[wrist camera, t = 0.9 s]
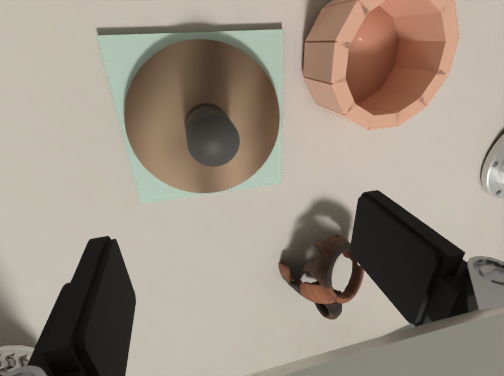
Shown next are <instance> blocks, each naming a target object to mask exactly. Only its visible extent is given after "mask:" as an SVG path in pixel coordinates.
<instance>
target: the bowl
mask: <svg viewBox="0 0 504 376" xmlns="http://www.w3.org/2000/svg"><path fill="white" fill-rule="evenodd" d="M457 36H459V28H458V21H457V14H456V7H455V0H332V1H331V2H329V3H328V4H327V5H325V6H324V7H323V8H322V9H321V11H320V13H319V15H318V17H317V19H316V21H315V23H314V25H313V27H312V29H311V31H310V33H309V35H308V37H307V38H306V40H305V41H306V42H308V43H305V49H304V70H303V76H305V77H304V80H305V82H306V84H307V86H308V88H309V90H310V93H311V95H312V97H313V99H314V101H315V103H316V104H318V105H319V106H321V107H323V108H325V109H326V110H328V111H330V112H331V113H333V114H335V115H337V116H339V117H341V118H343V119H346V120H348V121H350V122H352V123H355V124H357V125H359V126H361V127H364V128H366V129H369V130H371V129H380V128H388V127H397V126H399V125H401V124H402V123H404V122H405V121H407V120H408V119H409V118H411V117H412V116H414V115H415V114H417V113H418V112H420V111H421V110H423V109H424V108H426V107H425V106H427V105H428V104H429V103H430V101H431V100H432V98H433V97H434V95H435V94H436V93H437V91H438V90H439V88H440V87H441V85H442V84H443V83H444V81H445V80H446V78H447V77H448V75H446V74H449V72H450V69H451V65H452V61H453V58H454V54H455V51H456V47H457V43H458V40H459V37H457Z"/></svg>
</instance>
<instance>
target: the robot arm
mask: <svg viewBox="0 0 504 376" xmlns="http://www.w3.org/2000/svg"><path fill="white" fill-rule="evenodd" d="M481 181H482V186H483V188H484V190H485V191H486V192H487V193H488V194H490V195H492V196H494V197H496V198H500V199H504V134H503V135H502V136H501V137H500V138H499V139H498V140H497V142H496V143H495V144H494V146H493V147H492V149H491V150H490V152H489V154H488V156H487V158H486V160H485V162H484V165H483V169H482V175H481ZM350 251H351V254H352V256H353V257H354V258H355V259H356V261H357V262H358V263H359V264H360V265H361V267H362V268H363V269H364V270H365V271H366V273H367V274H368V275H369V276H370V277H371V279H372V280H373V281H374V282H375V283H376V284H377V286H378V287H379V288H380V289H381V290H382V292H383V293H384V294H385V295H386V296H387V298H388V299H389V300H390V301H391V302H392V303H393V305H394V306H395V307H396V308H397V309H398V311H399V312H400V313H401V314H402V315H403V317H404V318H405V319H406V320H407V321H408V322H409V323H411V324H414V325H415V327H414V328H410V329H407V330H403V331H400V332H396V333H392V334H389V335H385V336H381V337H378V338H374V339H371V340H367V341H364V342H360V343H357V344H354V345H350V346H347V347H343V348H340V349H336V350H333V351H329V352H326V353H322V354H319V355H316V356H312V357H309V358H305V359H302V360H298V361H295V362H291V363H288V364H285V365H281V366H278V367H274V368H271V369H268V370H264V371H261V372H257V373H254V374H251V375H247V376H504V262H502V261H500V260H497V259H494V258H491V257H484V256H475V257H472V258H470V259H469V260H468V262H466V261H464V260H463V256H464V254H465V252H464V251H462V250H461V249H459V248H458V247H457V246H455V245H454V244H452V243H451V242H450V241H448V240H447V239H445V238H444V237H443V236H441V235H440V234H439V233H437V232H436V231H434V230H433V229H432V228H430V227H429V226H427V225H426V224H425V223H423V222H422V221H420V220H419V219H418V218H416V217H415V216H413V215H412V214H411V213H409V212H408V211H407V210H405V209H404V208H402V207H401V206H400V205H398V204H397V203H395V202H394V201H393V200H391V199H390V198H388V197H387V196H386V195H384V194H383V193H381V192H380V191H378V190H375V191H369V192H364V193H363V194H362V195H361V197H359V199H358V203H357V209H356V215H355V222H354V228H353V234H352V240H351V246H350ZM135 305H136V297H135V292H134V290H133V287H132V284H131V281H130V278H129V275H128V272H127V269H126V266H125V263H124V260H123V257H122V254H121V251H120V248H119V246H118V243H117V240H116V239H113V240H111V238H110V237H109V236H105V237H99V238H93V239H90V240H89V241H88V243H87V246H86V248H85V250H84V253H83V255H82V257H81V260H80V262H79V264H78V267H77V269H76V271H75V274H74V276H73V278H72V280H71V283H67V284H65V285H64V286H63V288H62V289H61V292H60V294H59V296H58V298H57V300H56V303H55V305H54V307H53V309H52V311H51V314H50V316H49V318H48V320H47V322H46V325H45V327H44V329H43V331H42V333H41V336H40V338H39V340H38V342H37V344H36V346H35V349H34V351H33V353H32V355H31V357H30V360H29V362H28V364H27V366H24V367H19V368H17V369H14V370H12V371H10V372H8V373H6V374H4V375H3V376H125V373H126V367H127V360H128V353H129V346H130V339H131V332H132V325H133V319H134V312H135Z"/></svg>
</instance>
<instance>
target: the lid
mask: <svg viewBox="0 0 504 376" xmlns="http://www.w3.org/2000/svg"><path fill="white" fill-rule="evenodd" d="M124 123H125V129H126V134H127V137H128V140H129V143H130V145H131V147H132V150H133V152H134V154H135V155H136V157H137V158H138V160H139V161H140V162H141V164H142V165H143V166H144V167H145V168H146V169H147V170H148V171H149V172H150V173H151V174H152V175H153V176H155V177H156V178H157V179H159V180H160V181H162V182H164V183H165V184H167V185H169V186H171V187H174V188H176V189H179V190H183V191H187V192H193V193H215V192H220V191H224V190H227V189H230V188H233V187H235V186H237V185H239V184H241V183H243V182H244V181H246V180H248V179H249V178H250V177H252V176H253V175H254V174H255V173H256V172H257V171H258V170H259V169H260V168H261V167H262V166H263V164H264V163H265V162H266V161H267V159H268V157H269V156H270V154H271V152H272V150H273V148H274V146H275V143H276V140H277V136H278V131H279V124H280V111H279V104H278V99H277V96H276V92H275V89H274V87H273V85H272V83H271V81H270V79H269V77H268V76H267V74H266V73H265V71H264V70H263V69H262V68H261V67H260V65H259V64H258V63H257V62H256V61H255V60H254V59H252V58H251V57H250V56H249V55H247V54H246V53H245V52H243V51H242V50H240V49H238V48H236V47H234V46H232V45H229V44H226V43H223V42H220V41H215V40H209V39H193V40H185V41H182V42H178V43H174V44H172V45H170V46H168V47H165V48H163V49H162V50H160V51H159V52H157V53H155V54H154V55H153V56H152V57H151V58H149V59H148V60H147V61H146V62H145V63H144V64H143V66H142V67H141V68H140V69H139V70H138V72H137V73H136V75H135V77H134V78H133V80H132V82H131V85H130V87H129V89H128V92H127V96H126V100H125V108H124Z"/></svg>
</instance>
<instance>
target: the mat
mask: <svg viewBox="0 0 504 376" xmlns="http://www.w3.org/2000/svg"><path fill="white" fill-rule="evenodd" d="M97 39H98V43H99V47H100V51H101V55H102V58H103V62H104V66H105V70H106V74H107V77H108V81H109V85H110V89H111V93H112V96H113V100H114V104H115V108H116V112H117V115H118V119H119V123H120V127H121V131H122V134H123V138H124V142H125V146H126V150H127V153H128V157H129V161H130V165H131V169H132V172H133V176H134V180H135V184H136V188H137V191H138V195H139V199H140V203H141V204H145V203H151V202H158V201H165V200H172V199H178V198H185V197H192V196H199V195H205V194H212V193H193V192H187V191H183V190H179V189H176V188H174V187H171V186H169V185H167V184H165V183H164V182H162V181H160V180H159V179H157V178H156V177H155V176H153V175H152V174H151V173H150V172H149V171H148V170H147V169H146V168H145V167H144V166H143V165H142V164H141V162H140V161H139V160H138V158H137V157H136V155H135V154H134V152H133V150H132V147H131V145H130V143H129V140H128V137H127V134H126V129H125V123H124V108H125V100H126V96H127V92H128V89H129V87H130V85H131V82H132V80H133V78H134V77H135V75H136V73H137V72H138V70H139V69H140V68H141V67H142V66H143V64H144V63H145V62H146V61H147V60H148V59H149V58H151V57H152V56H153V55H154V54H155V53H157V52H159V51H160V50H162V49H163V48H165V47H168V46H170V45H172V44H174V43H178V42H182V41H185V40H193V39H209V40H215V41H220V42H223V43H226V44H229V45H232V46H234V47H236V48H238V49H240V50H242V51H243V52H245V53H246V54H247V55H249V56H250V57H251V58H252V59H254V60H255V61H256V62H257V63H258V64H259V65H260V67H261V68H262V69H263V70H264V71H265V73H266V74H267V76H268V77H269V79H270V81H271V83H272V85H273V87H274V89H275V92H276V96H277V99H278V104H279V111H280V124H279V131H278V136H277V140H276V143H275V146H274V148H273V150H272V152H271V154H270V156H269V157H268V159H267V161H266V162H265V163H264V164H263V166H262V167H261V168H260V169H259V170H258V171H257V172H256V173H255V174H254V175H253V176H252V177H250V178H249V179H248V180H246V181H244V182H243V183H241V184H239V185H237V186H235V187H233V188H230V189H227V190H224V191H220V192H226V191H233V190H239V189H246V188H253V187H260V186H266V185H273V184H280V183H281V158H282V93H283V29H277V30H247V31H217V32H187V33H157V34H128V35H98V36H97ZM215 193H219V192H215Z"/></svg>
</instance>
